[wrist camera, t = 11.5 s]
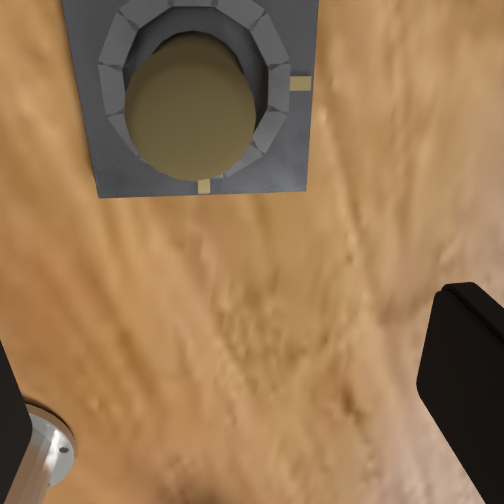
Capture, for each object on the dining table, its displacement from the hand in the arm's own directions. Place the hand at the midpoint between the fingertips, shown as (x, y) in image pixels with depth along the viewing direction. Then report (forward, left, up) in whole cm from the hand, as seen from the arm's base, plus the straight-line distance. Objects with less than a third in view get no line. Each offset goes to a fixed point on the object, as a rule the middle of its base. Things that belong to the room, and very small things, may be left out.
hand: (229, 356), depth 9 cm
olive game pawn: (-1, +3, -20) cm, 20 cm away
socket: (-1, +3, -21) cm, 22 cm away
